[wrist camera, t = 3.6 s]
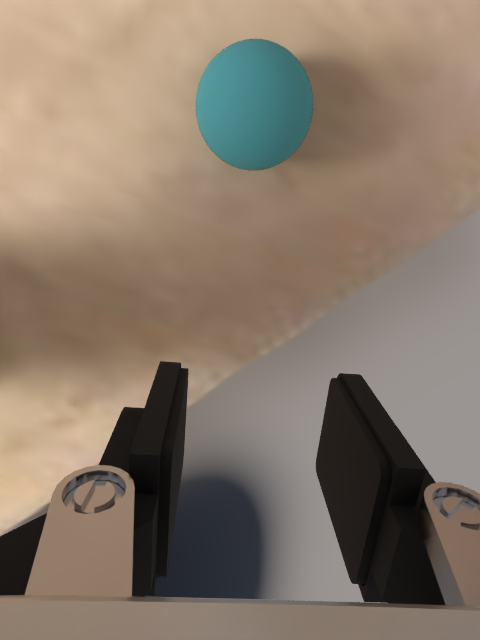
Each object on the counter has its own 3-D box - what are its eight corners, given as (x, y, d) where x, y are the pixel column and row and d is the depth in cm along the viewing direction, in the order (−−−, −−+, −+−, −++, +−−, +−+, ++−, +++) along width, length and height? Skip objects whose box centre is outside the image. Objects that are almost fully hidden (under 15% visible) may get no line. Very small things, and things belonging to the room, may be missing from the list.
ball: (294, 175, 26) (314, 175, 20) (196, 165, 25) (188, 163, 20) (308, 63, 24) (335, 28, 18) (202, 51, 23) (195, 11, 18)
